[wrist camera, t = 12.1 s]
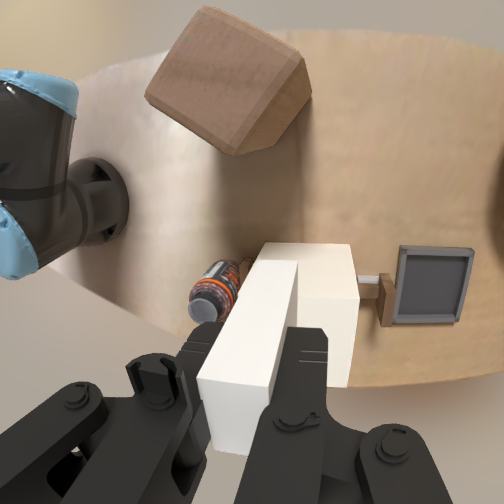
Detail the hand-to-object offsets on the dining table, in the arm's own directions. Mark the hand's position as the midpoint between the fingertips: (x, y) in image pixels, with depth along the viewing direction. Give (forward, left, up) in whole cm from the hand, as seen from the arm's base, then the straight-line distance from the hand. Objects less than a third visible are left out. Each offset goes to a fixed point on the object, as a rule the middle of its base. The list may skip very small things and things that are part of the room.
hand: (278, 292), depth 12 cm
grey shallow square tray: (+19, -15, -32) cm, 40 cm away
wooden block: (-6, +11, -33) cm, 35 cm away
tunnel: (+2, -15, -32) cm, 36 cm away
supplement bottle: (-13, -15, -33) cm, 38 cm away
